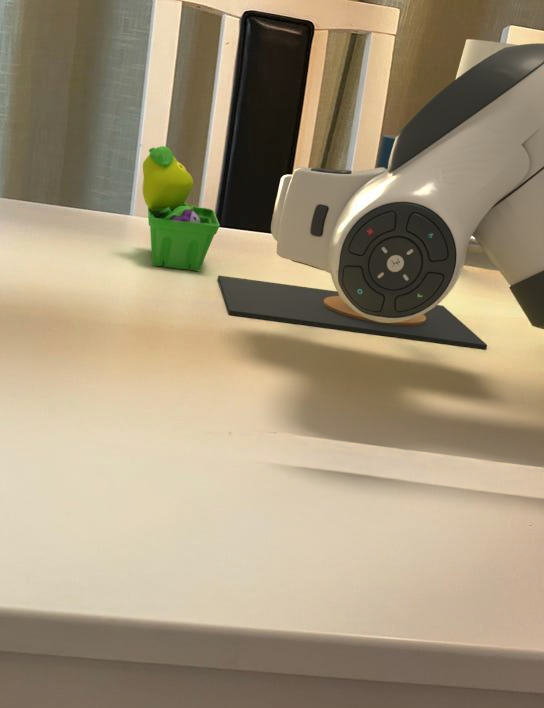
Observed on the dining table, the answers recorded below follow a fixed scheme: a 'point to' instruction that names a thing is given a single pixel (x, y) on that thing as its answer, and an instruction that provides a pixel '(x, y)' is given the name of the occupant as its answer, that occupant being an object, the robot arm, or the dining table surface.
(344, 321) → the placemat
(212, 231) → the fruit basket
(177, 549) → the dining table surface
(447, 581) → the dining table surface
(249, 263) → the dining table surface
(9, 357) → the dining table surface
